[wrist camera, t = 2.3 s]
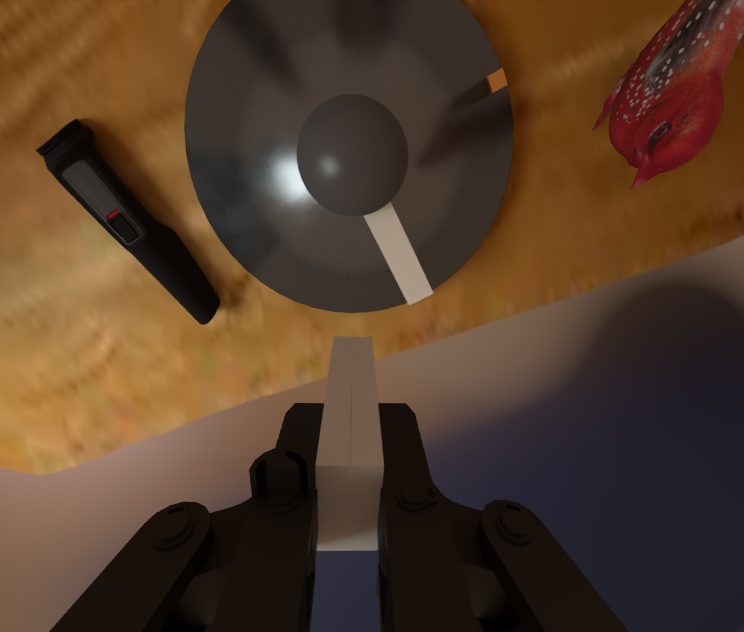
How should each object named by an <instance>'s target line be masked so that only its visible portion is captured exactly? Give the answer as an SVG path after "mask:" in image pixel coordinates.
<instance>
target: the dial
mask: <svg viewBox="0 0 744 632" xmlns="http://www.w3.org/2000/svg"><path fill="white" fill-rule="evenodd" d="M297 165H298V169H299V173H300V176H301V179H302V181H303V183H304V185H305V187H306V189H307V190H308V192H309V193H310V195H311V196H312V197H313V198H314V199H315V200H316V201H317V202H318V203H319V204H320V205H322V206H323V207H324V208H326V209H328V210H329V211H331V212H334V213H336V214H339V215H343V216H351V217H356V216H364V218H365V220H366V222H367V224H368V226H369V228H370V230H371V232H372V234H373V236H374V238H375V240H376V242H377V244H378V245H379V247H380V249H381V251H382V253H383V255H384V257H385V259H386V261H387V263H388V265H389V267H390V269H391V271H392V273H393V275H394V277H395V279H396V281H397V283H398V285H399V287H400V289H401V291H402V293H403V295H404V297H405V299H406V301H407V303H408V305H411V304H413V303H415V302H417V301H420V300H422V299H424V298H426V297H428V296H430V295H432V294H434V293H433V291H432V289H431V287H430V285H429V283H428V280H427V278H426V276H425V274H424V272H423V270H422V268H421V266H420V263H419V261H418V259H417V257H416V255H415V253H414V251H413V249H412V246H411V244H410V242H409V240H408V238H407V236H406V234H405V231H404V229H403V227H402V225H401V223H400V221H399V219H398V217H397V214H396V212H395V210H394V208H393V206H392V204H391V202H390V201H391V200H392V199H393V198H394V197H395V195H396V194H397V193H398V191H399V189H400V188H401V186H402V184H403V181H404V179H405V176H406V172H407V167H408V146H407V141H406V137H405V135H404V132H403V129H402V127H401V125H400V123H399V122H398V120H397V119H396V117H395V116H394V115H393V114H392V113H391V111H390V110H389V109H387V108H386V107H385V106H384V105H383V104H381V103H380V102H378V101H376V100H374V99H372V98H370V97H367V96H364V95H358V94H344V95H339V96H336V97H333V98H330V99H328V100H326V101H324V102H323V103H322V104H320V105H319V106H318V107H317V108H316V109H314V110H313V111H312V113H311V114H310V115H309V116H308V118H307V119H306V121H305V123H304V124H303V127H302V129H301V131H300V135H299V138H298V144H297Z"/></svg>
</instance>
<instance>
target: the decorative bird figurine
mask: <svg viewBox="0 0 744 632" xmlns="http://www.w3.org/2000/svg"><path fill="white" fill-rule="evenodd" d="M743 36H744V0H686V1H685V2H684V3H683V4H682V5H681V7H680V8H679V9H678V10H677V11H676V12H675V13H674V14H673V15H672V17H671V18H670V19H669V20H668V21H667V22H666V23H665V24H664V25H663V27H662V28H661V29H660V30H659V31H658V32H657V33H656V34H655V36H654V37H653V38H652V39H651V41H650V42H649V43H648V44H647V46H646V47H645V48H644V50H642V51H641V52H640V54H639V57H638V59H637V60H636V61H635V63H633V64H632V65H631V66H630V67H629V69H628V71H627V73H626V74H625V75H623V77H622V78H621V79H620V81H619V82H618V84H617V86H616V87H615V88H614V89H613V91H612V92H611V94H610V95H609V97H608V98H607V100H606V102H605V103H604V108H603V112H602V113H601V115H600V117H599V119H598V121H597V123H596V124H595V126H594V128H593V130H594V129H595V127H597V126H598V125H599V123H600V121H601V120H602V118H603V116H604V115H605V113H606V112H607V111H608V110H609V109H611V108H612V107H613V108H612V112H611V115H610V120H609V137H610V141H611V143H612V145H613V146H614V148H615V150H616V151H618V152H619V153H620V154H622V155H623V156H624V157H625V158H626V159H627V162H628V164H629V165H630V166H633V167H635V168H638V172H637V175H636V178H635V180H634V182H633V185H632V187H631V188H633V187H636V186H638V185H640V184H642V183H644V182H646V181H647V180H649V179H650V178H652V177H654V176H656V175H657V174H660V173H663V172H667V171H670V170H673V169H675V168H678V167H680V166H682V165H683V164H685V163H687V162H688V161H690V160H691V159H692V158H694V157H695V156H696V155H697V154H698V153H699V152H700V151H701V150H702V149H703V148H704V147H705V146H706V145H707V143H708V142H709V141H710V139H711V137H712V136H713V134H714V132H715V129H716V127H717V125H718V122H719V119H720V117H721V114H722V111H723V106H724V96H723V92H722V81H723V79H724V76H725V74H726V71H727V69H728V66H729V64H730V62H731V60H732V58H733V55H734V53H735V51H736V49H737V47H738V45H739V43H740V42H741V40H742V38H743Z"/></svg>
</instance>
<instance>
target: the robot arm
mask: <svg viewBox="0 0 744 632" xmlns="http://www.w3.org/2000/svg"><path fill="white" fill-rule="evenodd" d="M249 472H250V481H251V490H252V497H251V498H250V499H248V500H246V501H245V502H243V503H241V504H238V505H236V506H233V507H230V508H227V509H223V510H220V511H216V512H213V513H209V512H208V510H207V509H206V507H205V506H203V505H201V504H199V503H197V502H181V503H177V504H174V505H170V506H169V507H166V508H165V509H163V510H161V511H159V512H157V513H156V514H155V515H153V516H152V517H151V518H150V519H149V520H148V521H147V522H146V523H144V525H143V526H142V527H141V528H140V529H139V530H138V531H137V533H136V534H135V535H134V536H133V537H132V538H131V539H130V540H129V542H128V543H127V544H126V545H125V546H124V547H123V549H122V550H121V551H120V552H119V553H118V554H117V555H116V557H115V558H114V559H113V560H112V561H111V562H110V563H109V564H108V566H107V567H106V568H105V569H104V570H103V571H102V572H101V573H100V575H99V576H98V577H97V578H96V579H95V580H94V581H93V583H92V584H91V585H90V586H89V587H88V588H87V589H86V591H85V592H84V593H83V594H82V595H81V596H80V597H79V599H78V600H77V601H76V602H75V603H74V604H73V605H72V606H71V608H70V609H69V610H68V611H67V612H66V613H65V614H64V616H63V617H62V618H61V619H60V620H59V621H58V622H57V623H56V625H55V626H54V627H53V628H52V629H51V630H50V632H310V626H311V616H312V606H313V596H314V585H315V558H316V550H317V551H329V550H330V551H334V550H335V551H339V550H377V549H378V554H379V564H378V576H377V588H376V596H379V614H380V632H629V631H628V630H627V629H626V628H625V626H624V625H623V624H622V622H621V621H620V620H619V619H618V618H617V616H616V615H615V614H614V612H613V611H612V610H611V609H610V607H609V606H608V605H607V604H606V603H605V601H604V600H603V598H602V597H601V596H600V595H599V593H598V592H597V591H596V590H595V588H594V587H593V586H592V585H591V583H590V582H589V581H588V580H587V578H586V577H585V576H584V574H583V573H582V572H581V571H580V569H579V568H578V567H577V566H576V564H575V563H574V562H573V561H572V559H571V558H570V557H569V556H568V554H567V553H566V552H565V550H564V549H563V548H562V547H561V545H560V544H559V543H558V542H557V540H556V539H555V538H554V537H553V536H552V534H551V533H550V532H549V530H548V529H547V528H546V526H545V525H544V524H543V523H542V521H541V520H540V519H539V518H538V517H537V516H536V515H535V514H534V513H533V512H531V511H530V510H529V509H527V508H526V507H524V506H522V505H520V504H519V503H515V502H512V501H508V500H495V501H492V502H491V503H488V504H487V505H486V506H485V508H484V509H483V511H480V510H477V509H473V508H470V507H466V506H463V505H460V504H458V503H455V502H453V501H451V500H449V499H448V498H446V497H445V496H444V495H443V494H441V493H440V491H439V489H438V488H437V487H436V486H435V485H434V484H433V482H432V479H431V476H430V472H429V468H428V465H427V460H426V456H425V452H424V448H423V444H422V440H421V437H420V432H419V429H418V424H417V420H416V416H415V413H414V412H413V411H412V410H411V409H410V407H409V406H408V405H407V404H404V403H403V404H402V403H397V404H396V403H378V398H377V388H376V376H375V366H374V355H373V345H372V337H336V336H334V339H333V346H332V353H331V360H330V367H329V374H328V381H327V388H326V395H325V402H324V403H295V404H294V405H293V406H292V407H291V408H290V409H289V410H288V411H287V412H286V414H285V417H284V421H283V424H282V428H281V430H280V434H279V438H278V440H277V444H276V447H275V448H274V449H272V450H270V451H267V452H265V453H263V454H262V455H261V456H260V457H258V458H257V459H256V460H255V461H254V462H253V464H252V466H251V467H250V469H249Z"/></svg>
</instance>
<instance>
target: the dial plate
mask: <svg viewBox="0 0 744 632" xmlns="http://www.w3.org/2000/svg"><path fill="white" fill-rule="evenodd" d="M507 85H508V84H507V81H506V77H505V74H504V71H503V68H501V65H500V63H499V60H498V57H497V55H496V52H495V50H494V48H493V47H492V45H491V43H490V41H489V39H488V37H487V35H486V33H485V31H484V30H483V28H482V27H481V25H480V24H479V23H478V21H477V20H476V18H475V17H474V16H473V14H472V13H471V11H470V10H469V9H468V8H467V7H466V6H465V5H464V4H463V3H462V1H461V0H231V1H230V2H229V3H228V4H227V6H226V7H225V8H224V9H223V10H222V12H221V13H220V15H219V16H218V18H217V19H216V21H215V22H214V24H213V25H212V27H211V28H210V30H209V31H208V34H207V36H206V38H205V40H204V42H203V44H202V46H201V48H200V51H199V53H198V55H197V58H196V61H195V64H194V68H193V71H192V74H191V77H190V82H189V87H188V93H187V99H186V106H185V128H184V129H185V142H186V154H187V159H188V164H189V169H190V174H191V178H192V181H193V185H194V188H195V191H196V194H197V197H198V200H199V202H200V204H201V206H202V208H203V211H204V213H205V215H206V217H207V219H208V221H209V223H210V224H211V226H212V228H213V229H214V231H215V233H216V234H217V236H218V238H219V239H220V240H221V242H222V243H223V244H224V246H225V247H226V248H227V249H228V251H229V252H230V253H231V255H232V256H233V257H234V258H235V259H236V260H237V261H238V262H239V263H240V264H241V265H242V266H243V267H244V268H245V269H246V270H247V271H248V272H249V273H251V274H252V275H253V276H254V277H256V278H257V279H258V280H259V281H260V282H262V283H263V284H265V285H266V286H268V287H270V288H271V289H273V290H274V291H276V292H277V293H279V294H281V295H283V296H285V297H287V298H290V299H292V300H294V301H296V302H299V303H302V304H305V305H308V306H311V307H314V308H318V309H323V310H328V311H334V312H346V313H359V312H372V311H378V310H384V309H388V308H392V307H395V306H399V305H402V304H405V303H407V301H406V299H405V297H404V295H403V293H402V291H401V289H400V287H399V285H398V283H397V281H396V279H395V277H394V275H393V273H392V271H391V269H390V267H389V265H388V263H387V261H386V259H385V257H384V255H383V253H382V251H381V249H380V247H379V245H378V244H377V242H376V240H375V238H374V236H373V234H372V232H371V230H370V228H369V226H368V224H367V222H366V220H365V218H364V216H356V217H351V216H343V215H339V214H336V213H334V212H331V211H329V210H328V209H326V208H324V207H323V206H322V205H320V204H319V203H318V202H317V201H316V200H315V199H314V198H313V197H312V196H311V195H310V193H309V192H308V190H307V189H306V187H305V185H304V183H303V181H302V179H301V176H300V173H299V169H298V165H297V144H298V138H299V135H300V131H301V129H302V127H303V124H304V123H305V121H306V119H307V118H308V116H309V115H310V114H311V113H312V111H313V110H314V109H316V108H317V107H318V106H319V105H320V104H322V103H323V102H324V101H326V100H328V99H330V98H333V97H336V96H339V95H344V94H358V95H364V96H367V97H370V98H372V99H374V100H376V101H378V102H380V103H381V104H383V105H384V106H385V107H386V108H387V109H389V110H390V111H391V113H392V114H393V115H394V116H395V117H396V119H397V120H398V122H399V123H400V125H401V127H402V129H403V132H404V135H405V137H406V141H407V146H408V167H407V172H406V176H405V179H404V181H403V184H402V186H401V188H400V189H399V191H398V193H397V194H396V195H395V197H394V198H393V199H392V200H391V201H390V202H391V204H392V206H393V208H394V210H395V212H396V214H397V217H398V219H399V221H400V223H401V225H402V227H403V229H404V231H405V234H406V236H407V238H408V240H409V242H410V244H411V246H412V249H413V251H414V253H415V255H416V257H417V259H418V261H419V263H420V266H421V268H422V270H423V272H424V274H425V276H426V278H427V280H428V283H429V285H430V287H431V289H432V290H433V289H435V288H436V287H437V286H439V285H440V284H442V283H443V282H444V281H446V280H447V279H448V278H450V277H451V276H452V275H453V274H454V273H455V272H456V271H457V270H458V269H459V268H460V267H461V266H462V265H464V264H465V262H466V261H467V260H468V259H469V258H470V256H471V255H472V254H473V253H474V252H475V250H476V249H477V248H478V246H479V245H480V243H481V242H482V240H483V239H484V237H485V236H486V234H487V233H488V231H489V229H490V227H491V225H492V223H493V221H494V219H495V217H496V215H497V213H498V210H499V207H500V205H501V202H502V199H503V197H504V194H505V190H506V186H507V182H508V178H509V174H510V168H511V160H512V152H513V119H512V111H511V102H510V97H509V93H508V88H507Z"/></svg>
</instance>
